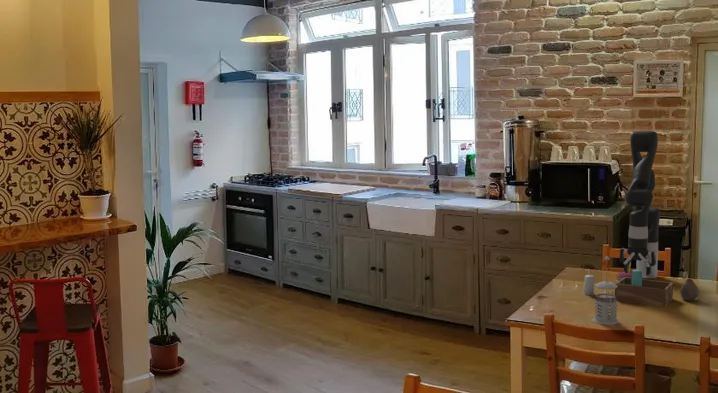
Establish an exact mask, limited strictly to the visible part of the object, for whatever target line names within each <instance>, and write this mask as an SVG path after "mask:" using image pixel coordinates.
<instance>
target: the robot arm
mask: <svg viewBox="0 0 718 393" xmlns="http://www.w3.org/2000/svg"><path fill="white" fill-rule="evenodd" d="M629 141H630V151H631V159H632V179H631V180H632V181H631V184H630V186H629V187H628V189H627V192H626V193H625V202H626V204H627V205H629V206H631V207H632V206H633V207H634V211H632V212H629V228H628V235H627V236H628V242H627V243H628V244H627V245H628V247H627V248H625V247H622V248H621V249H620V250H619V263H622V264H623V272H625V273H628V269H629V263H630V262H631V261H632V260H633V261H636V269H635V270H641V271H642V279H646V280H652V279H657V277H658V263H659V262H658V261H659V260H658V259H659V257H658V256H659V255H658V254H659V228H660V216H661V215H660V214H661V212H660V209H659V208H658V207H651V205H652V203H653V199H654V193H653V191H655V187H656V176H655V172H654V170H653V164H654V161H655V158H656V153H657V150H658V143H659V142H658V141H659V137H658V133H657V132H656V131H654V130H636V131H632V132H631V134H630V140H629ZM641 153H645V155H644V157H643V156H642V154H641ZM648 228H650V230H649V229H648ZM626 253H627V254H628V257H627V258H626V259H625V254H626Z"/></svg>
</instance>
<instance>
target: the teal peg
mask: <svg viewBox="0 0 718 393" xmlns="http://www.w3.org/2000/svg"><path fill="white" fill-rule="evenodd" d="M631 273H632V285H633V286H641V287H642V279H643V278H642V271H641V270H636V269H632V270H631Z"/></svg>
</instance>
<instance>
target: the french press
mask: <svg viewBox="0 0 718 393" xmlns="http://www.w3.org/2000/svg"><path fill="white" fill-rule="evenodd" d="M604 261H610V257H609V256H605V257H604ZM605 271H606V274H605V275H606V276H605V278H606V280H604V281H603V280H602V281H600V282H598V283H596V284H594V287H595V288H598V289H601V290H605V293H598V294H596V298H595V299H594V300H595V301H594V304H595V306H594V308H595V309H594V317H593V318H592V319H591V321H592V322H594V323H596V324H599V325H600V324H601V325H609V326H610V325H616V324H619V323H620V321H619V319H618V318H617V315H618V314H617V312H618V311H617V310H618V308H617V306H618V302H617V301H618V300H616V299H615V298H616V296H615V292H612V293H611V294H610V292H609V291H607V290H615V289H616V288H617V287H618V286H617V285H616V284H615V283H614V282H611V281H608V269H606V270H605Z"/></svg>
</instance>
